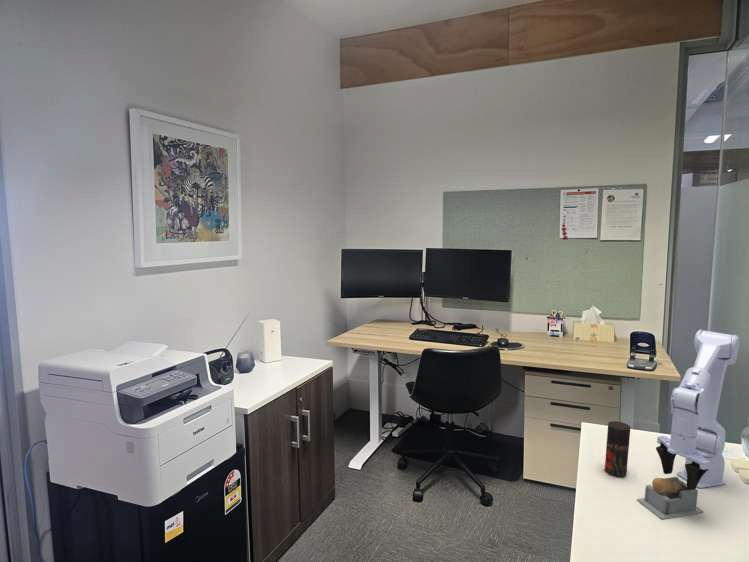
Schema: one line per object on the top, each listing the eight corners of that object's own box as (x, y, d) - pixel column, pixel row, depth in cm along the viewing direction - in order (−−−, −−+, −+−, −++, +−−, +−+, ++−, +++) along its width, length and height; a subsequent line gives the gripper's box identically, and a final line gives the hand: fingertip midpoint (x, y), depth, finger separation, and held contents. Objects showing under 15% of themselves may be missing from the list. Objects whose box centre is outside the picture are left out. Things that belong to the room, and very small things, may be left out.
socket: (676, 494, 135) (678, 474, 134) (703, 512, 127) (705, 491, 126) (637, 500, 132) (638, 480, 131) (661, 519, 124) (663, 498, 123)
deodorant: (629, 478, 143) (633, 430, 141) (607, 476, 144) (611, 428, 142) (623, 468, 149) (626, 422, 147) (602, 466, 150) (605, 420, 148)
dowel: (668, 488, 131) (650, 487, 130) (672, 476, 131) (654, 475, 129) (679, 496, 128) (661, 495, 126) (683, 484, 127) (665, 482, 126)
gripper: (649, 422, 133) (645, 468, 135) (695, 447, 119) (690, 498, 121) (671, 420, 135) (666, 465, 137) (718, 444, 121) (713, 494, 123)
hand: (679, 480), depth 129 cm, fingers open, 7 cm apart
